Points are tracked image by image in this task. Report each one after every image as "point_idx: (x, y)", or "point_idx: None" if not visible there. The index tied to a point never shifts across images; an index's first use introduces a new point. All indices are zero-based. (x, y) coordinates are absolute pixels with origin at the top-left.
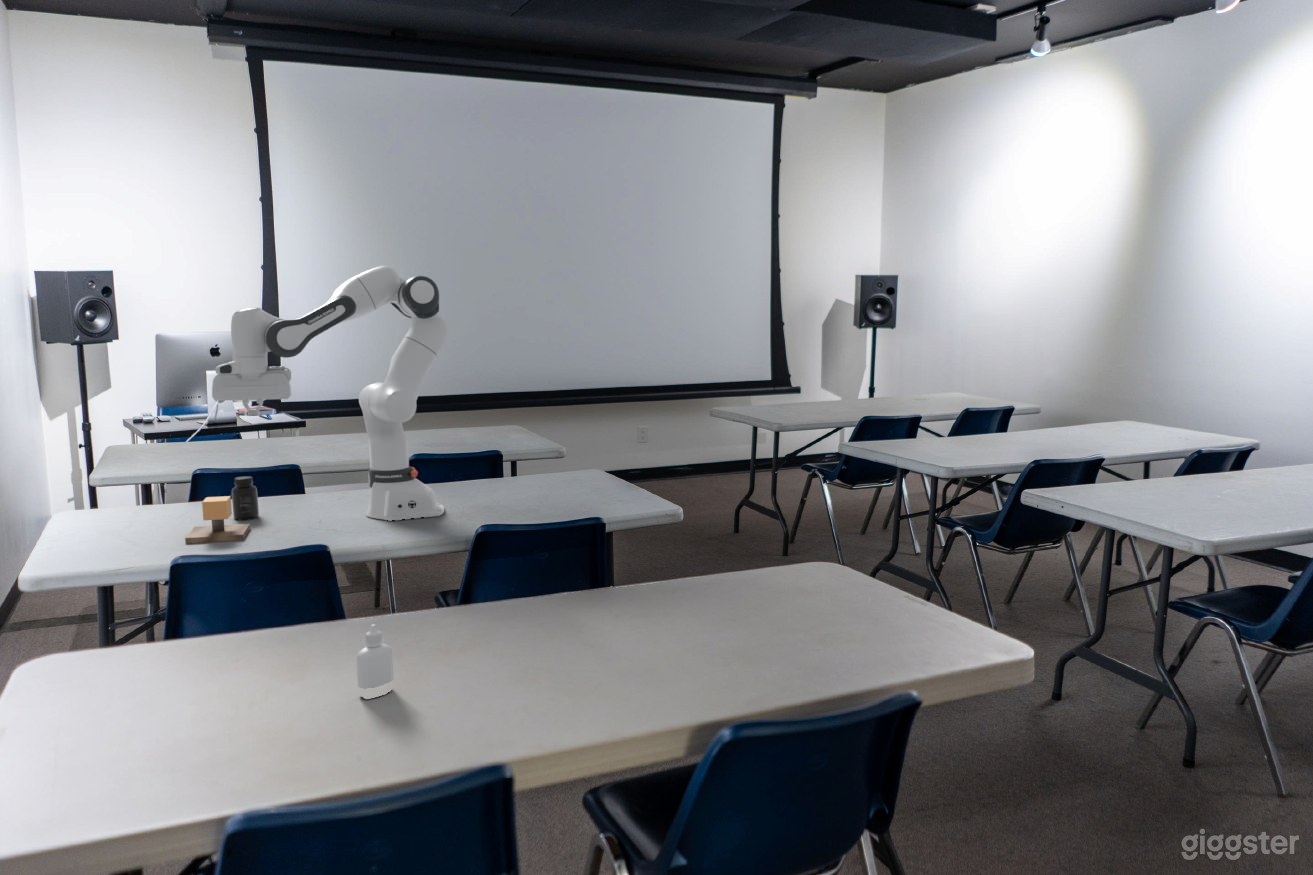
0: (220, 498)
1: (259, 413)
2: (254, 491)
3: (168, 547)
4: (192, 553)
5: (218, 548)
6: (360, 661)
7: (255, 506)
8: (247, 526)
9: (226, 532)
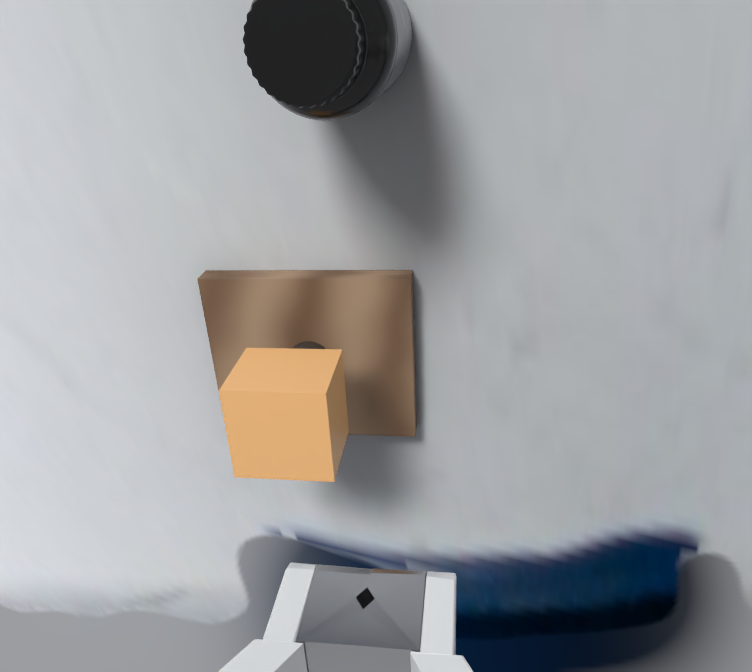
0: (293, 432)
1: (455, 600)
2: (389, 78)
3: (195, 445)
4: (293, 522)
5: (356, 494)
6: None
7: (399, 71)
8: (409, 325)
9: (348, 393)
